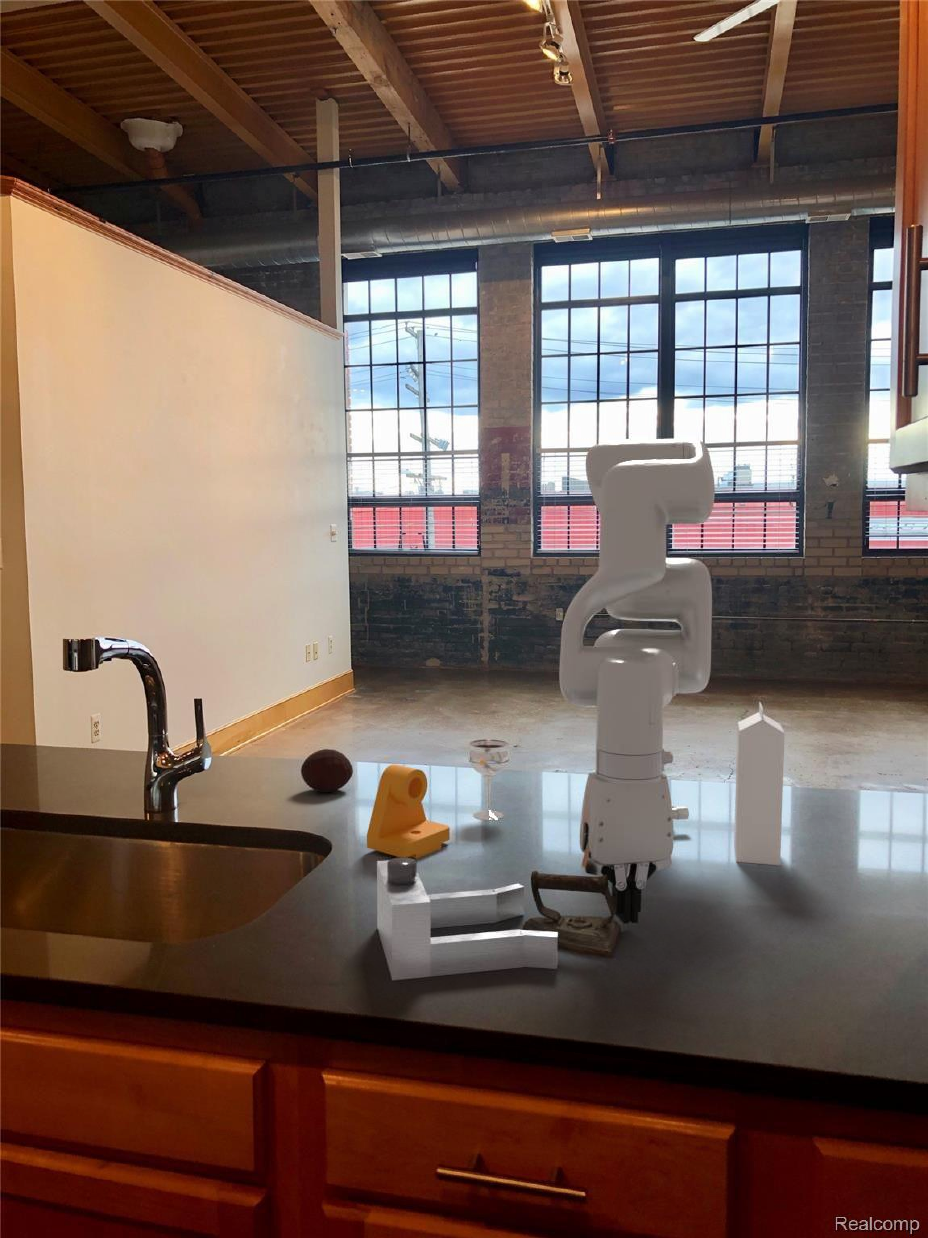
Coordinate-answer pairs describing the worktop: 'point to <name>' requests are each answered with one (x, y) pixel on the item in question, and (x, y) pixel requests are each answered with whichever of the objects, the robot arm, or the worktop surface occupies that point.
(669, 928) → the worktop surface
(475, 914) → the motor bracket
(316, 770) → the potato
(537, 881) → the clothes iron
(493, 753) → the wineglass
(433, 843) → the bracket
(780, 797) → the milk
